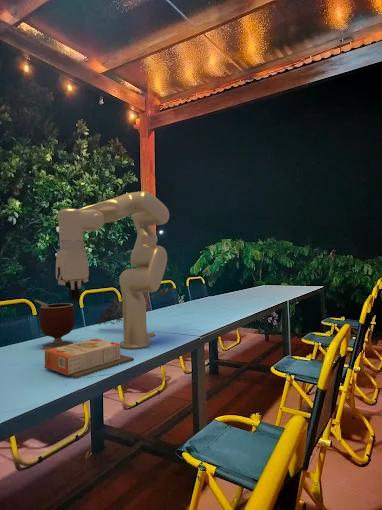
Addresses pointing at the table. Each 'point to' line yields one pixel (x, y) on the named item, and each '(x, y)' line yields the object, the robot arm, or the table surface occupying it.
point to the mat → (100, 367)
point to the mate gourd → (56, 322)
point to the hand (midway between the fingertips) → (74, 300)
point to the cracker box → (81, 356)
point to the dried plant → (119, 310)
